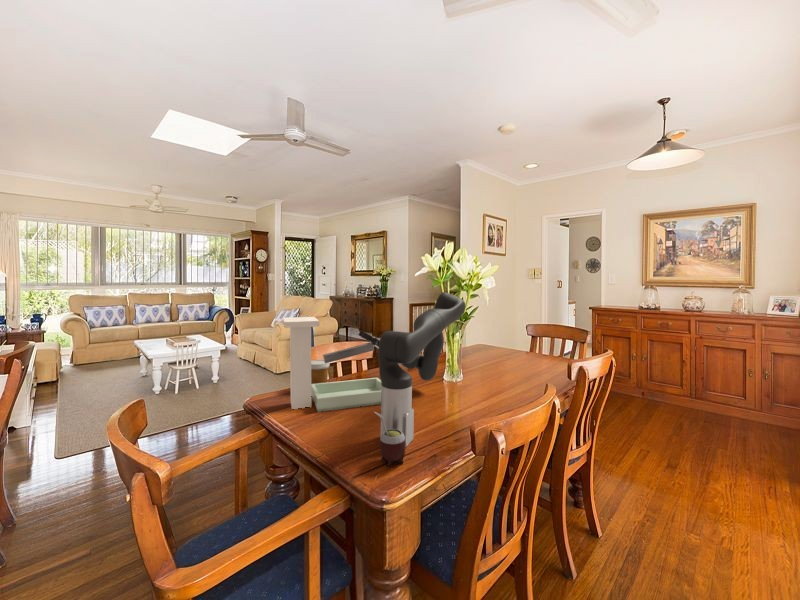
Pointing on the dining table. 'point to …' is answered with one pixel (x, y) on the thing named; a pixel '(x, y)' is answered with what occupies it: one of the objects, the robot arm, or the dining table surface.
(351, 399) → the tray
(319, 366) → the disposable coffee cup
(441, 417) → the dining table surface
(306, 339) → the stand
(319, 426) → the dining table surface
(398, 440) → the mate gourd
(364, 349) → the bar
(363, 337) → the robot arm
